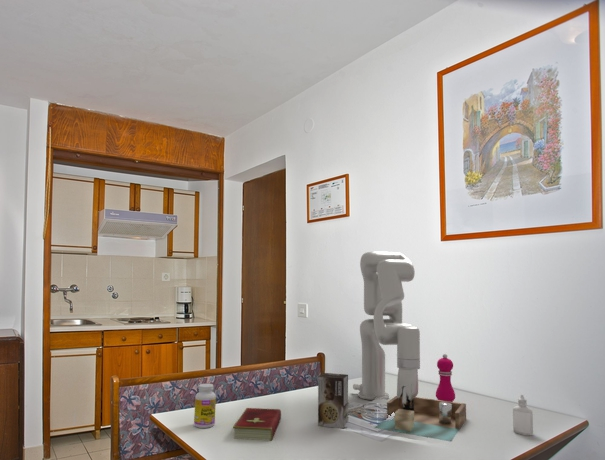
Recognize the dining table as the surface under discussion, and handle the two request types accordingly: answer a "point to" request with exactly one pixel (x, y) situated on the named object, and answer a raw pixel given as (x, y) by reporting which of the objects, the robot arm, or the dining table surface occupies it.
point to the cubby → (427, 418)
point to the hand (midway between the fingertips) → (408, 419)
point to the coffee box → (332, 400)
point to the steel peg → (445, 412)
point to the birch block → (404, 419)
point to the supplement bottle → (205, 406)
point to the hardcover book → (257, 424)
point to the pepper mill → (445, 380)
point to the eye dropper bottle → (522, 418)
